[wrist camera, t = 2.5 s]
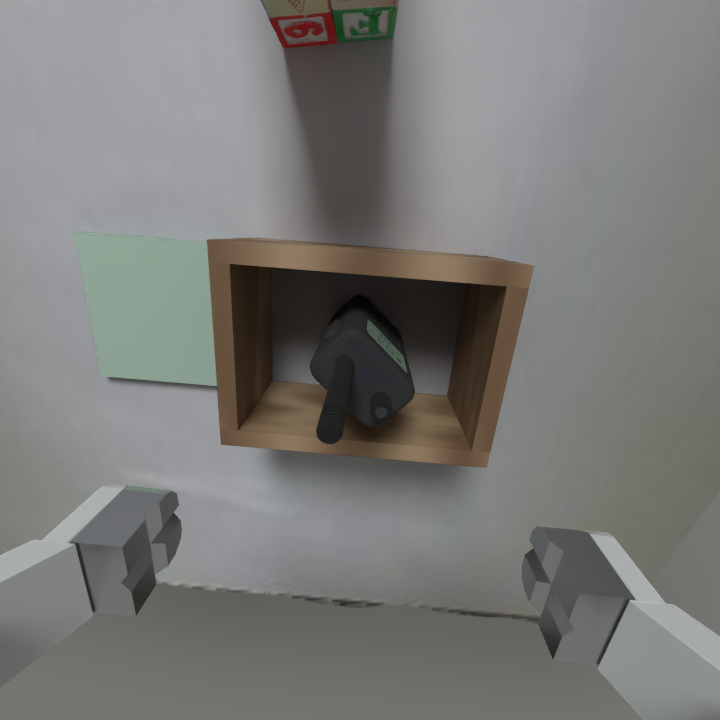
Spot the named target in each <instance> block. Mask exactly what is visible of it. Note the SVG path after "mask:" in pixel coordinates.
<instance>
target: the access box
mask: <svg viewBox="0 0 720 720" xmlns="http://www.w3.org/2000/svg"><path fill="white" fill-rule="evenodd" d="M207 250H208V264H209V279H210V293H211V307H212V322H213V336H214V351H215V365H216V379H217V394H218V408H219V423H220V437H221V445H231V446H243V447H254V448H266V449H277V450H289V451H300V452H312V453H323V454H335V455H346V456H358V457H369V458H381V459H392V460H404V461H415V462H427V463H438V464H450V465H461V466H473V467H484V468H486V467H487V463H488V459H489V455H490V450H491V446H492V442H493V438H494V433H495V429H496V425H497V421H498V416H499V412H500V408H501V404H502V400H503V395H504V391H505V387H506V383H507V378H508V374H509V370H510V366H511V361H512V357H513V353H514V349H515V345H516V340H517V336H518V332H519V328H520V323H521V319H522V315H523V311H524V306H525V302H526V298H527V294H528V290H529V285H530V281H531V277H532V273H533V268H534V266H532V265H527V264H522V263H517V262H512V261H507V260H503V259H498V258H493V257H488V256H476V255H463V254H451V253H439V252H426V251H414V250H401V249H389V248H376V247H364V246H351V245H339V244H327V243H314V242H302V241H289V240H277V239H264V238H236V239H210V240H207ZM271 267H275V268H287V269H300V270H312V271H324V272H336V273H349V274H361V275H373V276H386V277H398V278H410V279H423V280H435V281H447V282H460V283H467V286H466V292H465V298H464V303H463V309H462V315H461V321H460V326H459V332H458V338H457V343H456V349H455V355H454V360H453V366H452V372H451V377H450V383H449V389H448V394H447V396H443V395H431V394H419V393H414V397H413V399H412V400H411V401H410V402H409V403H408V404H407V405H405V406H404V407H403V408H402V409H400V410H399V411H398V412H397V413H395V414H394V415H393V416H392V417H390V418H389V419H388V420H387V421H385V422H384V423H383V424H381V425H379V426H377V427H368V426H365V425H364V424H362V423H361V422H360V421H359V420H358V419H357V418H356V417H355V416H353V415H352V414H351V413H350V412H349V411H348V410H347V411H346V417H345V424H344V430H343V435H342V437H341V439H340V440H339V441H338V442H337V443H334V444H325V443H323V442H321V441H320V440H319V439H318V437H317V434H316V428H317V424H318V421H319V418H320V414H321V411H322V408H323V404H324V401H325V397H326V394H327V390H326V389H325V388H324V387H323V386H322V385H313V384H301V383H289V382H278V381H272V314H271Z"/></svg>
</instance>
